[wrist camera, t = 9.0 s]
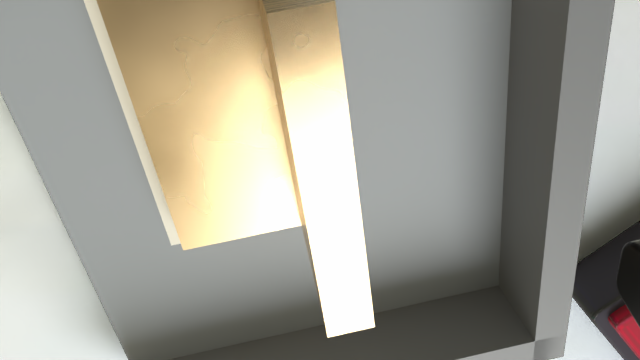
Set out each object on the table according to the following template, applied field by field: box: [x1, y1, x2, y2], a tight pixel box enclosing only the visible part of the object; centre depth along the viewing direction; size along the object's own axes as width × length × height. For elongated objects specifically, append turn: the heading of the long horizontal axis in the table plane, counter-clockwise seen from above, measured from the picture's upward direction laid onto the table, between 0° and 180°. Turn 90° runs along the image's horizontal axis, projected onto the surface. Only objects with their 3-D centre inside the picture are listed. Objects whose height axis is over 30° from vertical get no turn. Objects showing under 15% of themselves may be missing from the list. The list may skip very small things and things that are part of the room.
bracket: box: [96, 0, 375, 338], centre depth 14 cm, size 8×5×6 cm, turn 8°
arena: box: [0, 0, 615, 360], centre depth 17 cm, size 16×18×4 cm
